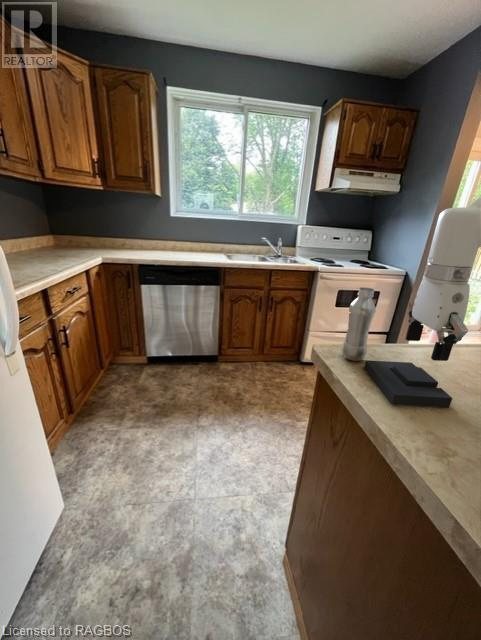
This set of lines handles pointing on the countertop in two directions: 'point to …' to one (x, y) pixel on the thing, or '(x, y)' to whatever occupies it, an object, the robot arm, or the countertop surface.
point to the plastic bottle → (359, 325)
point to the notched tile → (404, 387)
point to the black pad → (414, 376)
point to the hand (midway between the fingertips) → (424, 349)
